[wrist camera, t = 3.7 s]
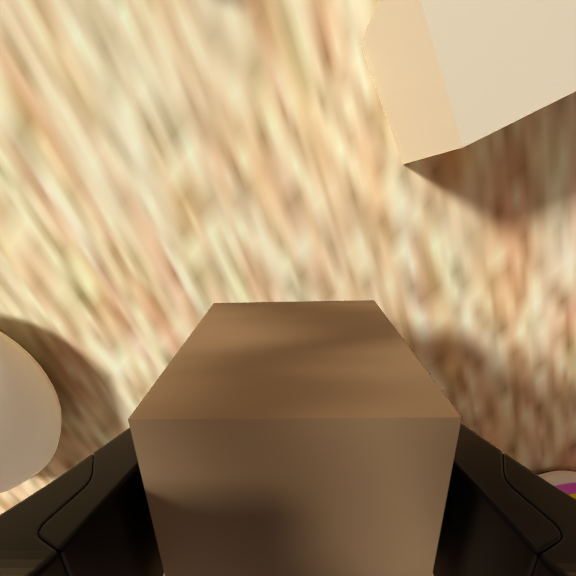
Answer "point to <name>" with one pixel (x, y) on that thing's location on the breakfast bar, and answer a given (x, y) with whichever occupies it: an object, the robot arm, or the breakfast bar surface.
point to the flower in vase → (25, 416)
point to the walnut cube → (296, 446)
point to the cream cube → (466, 67)
